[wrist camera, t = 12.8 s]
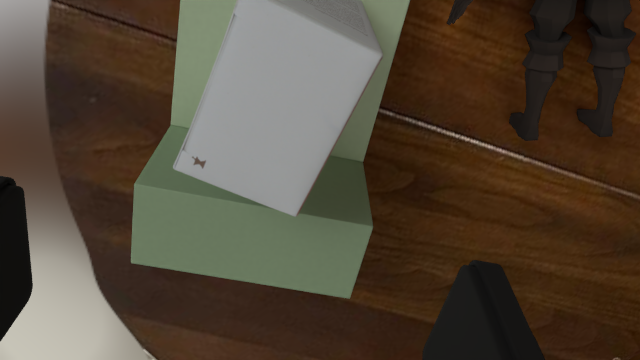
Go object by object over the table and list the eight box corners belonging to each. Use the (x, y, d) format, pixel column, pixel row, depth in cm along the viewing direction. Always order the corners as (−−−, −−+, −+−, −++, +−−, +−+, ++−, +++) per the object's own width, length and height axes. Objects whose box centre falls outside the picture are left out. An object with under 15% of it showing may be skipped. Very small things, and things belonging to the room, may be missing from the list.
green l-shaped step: (198, -77, 28) (144, -61, 20) (407, -28, 29) (444, 8, 21) (176, 172, 36) (130, 263, 27) (342, 202, 37) (349, 298, 29)
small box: (302, 124, 31) (295, 224, 22) (214, 85, 30) (168, 174, 21) (365, -1, 27) (389, 56, 18) (268, -51, 26) (241, -17, 17)
